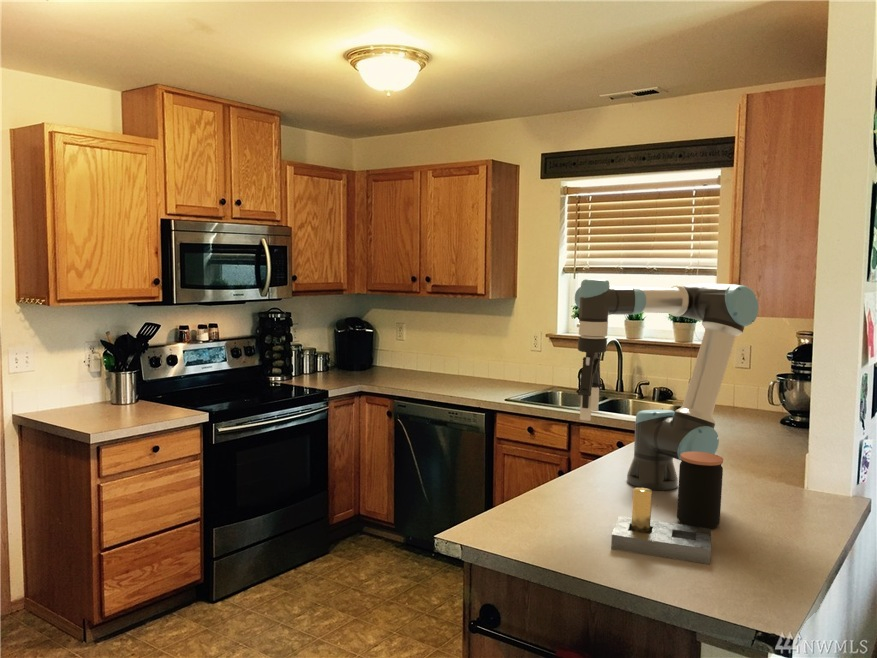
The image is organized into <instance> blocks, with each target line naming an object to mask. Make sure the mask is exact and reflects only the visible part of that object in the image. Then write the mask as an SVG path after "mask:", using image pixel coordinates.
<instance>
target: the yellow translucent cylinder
mask: <svg viewBox="0 0 877 658" xmlns="http://www.w3.org/2000/svg"><path fill="white" fill-rule="evenodd" d="M632 492H633V493H632V508H631V518H632V524H631V531H634V532H641V533H648V534H650V521H651V519H652V517H651V516H652V499H653V490H650V489H647V488H639V487H635V488H633V489H632Z"/></svg>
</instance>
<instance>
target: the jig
mask: <svg viewBox="0 0 877 658" xmlns="http://www.w3.org/2000/svg"><path fill="white" fill-rule="evenodd" d="M631 524H632V516H631V517H629V516H623V515H618V518H617V520H616V521H615V525H614V528H613V530H612V532H611V542H610V544H611V545H610V549H611V550H614V551H615V550H617V551H623V552H628V553H633V554H634V553H636V554H641V555H642V554H643V555H649V556H655V557H661V558H665V559H666V558H667V559H674V560H679V561H687V562H693V563H700V564H705V565H711V556H712V555H711V554H712V553H711V552H712V529H709V528H702V527H695V526H688V525H682V524H681V523H674V522H673V523H672V522H666V521H658V520H651V521H650V534H648V533H641V532H634V531H631Z"/></svg>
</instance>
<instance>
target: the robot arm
mask: <svg viewBox="0 0 877 658" xmlns="http://www.w3.org/2000/svg"><path fill="white" fill-rule="evenodd" d="M574 304H575V305H576V307H577V308H578V309H579V313H578V315H579V316H578V319H579V321H578V323H577V324H576V327H577V328H578V335H579V336H580V337H578V339H577V340H578V341H577V351H579V352H582V353H585V356H584V357H582V369H581V370H582V371H581V379H580V386H579V391H578V392H577V395H578V396H580V405H579V407H580V408H579V410H580V411H579V420H580V421H588V422H590V421H591V419H592V412H599V402H600V401H599V400H600V388H603V383H602V381H601V354H602V353H606V352H607V350H608V349H607V344H608V339H607V336H608V331H609V330H608V328H609V319H608V318H609V315H617V316H618V315H622V316H623V315H624V316H625V315H629V316H633V315H639V314H641V313H645V314H646V313H649V314H650V313H652V314H653V313H654V314H670V315H671V316H672V317H683V318H689V319H693V320H698V321H701V326H702V327H703V329H704V332H703V336H702V339H701V343H700V345H699V350H698V353H697V357H696V359H695V363H694V366H693V369H692V373H691V377H690V380H689V382H688V386H687V388H686V393H685V396H684V398H683V399H684V400H683V402H682V406H681V407H679V408H678V409H676V410H675V411H674V410H671V409H644V410H643V409H642V410H640V411H638V412H637V413H636V414H635V421H634V444H633V445H634V447H633V450H634V452H633V459H632V461H631V464H630V465H629V468H628V470H627V475H626V482H627V483H628V484H629V485H631V486H633V487H635V488H647V489H650V490H652V491H669V490H674V489H677V488H678V486H679V477H678V474H677V470H676V467H675V465H674V459H675V460H678V461H680V462H681V461H682V460H681V458H680V455H681V453H684V452H693V451H694V452H706V453H711V454H715V455H716V453H717V451H718V449H719V448H718V447H719V446H720V439H719V438H718V437H719V435H718V432H717V430H715V426H716V421H715V420H714V418H713V413H714V410H715V406H716V404H717V400H718V396H719V392H720V390H721V386H722V383H723V380H724V376H725V373H726V370H727V367H728V363H729V360H730V357H731V353H732V350H733V347H734V344H735V340H736V338H738V337H739V336H741V335H743V333H744V330H745V327H747V326H750V325H752V324H753V323H754V322H755V321H756V320H757V318H758V314H759V308H760V307H759V301H758V298H757V295H756V294H755V292H754V290H752V289H751V288H750V287H749V286H747V285H742V284H741V285H740V284H736V283H731V284H728V283H697V284H689V285H683V284H682V285H673V286H671V287H667V288H665V287H645V286H643V287H642V286H641V287H640V286H621V285H620V286H619V285H618V286H616V285H610V281H609V280H608V279H597V278H595V279H591V278H590V279H589V278H588V279H586V278H585V279H583V280H582V281H581V282H580V286H579V287H578V288H577V290H576V292H575V294H574Z"/></svg>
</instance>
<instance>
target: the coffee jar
mask: <svg viewBox="0 0 877 658" xmlns="http://www.w3.org/2000/svg"><path fill="white" fill-rule="evenodd" d="M680 458H681V460H682V461H681V460H680V463H679V471H678V472H679V473H678V485H677V490H678V492H677V506H676V507H677V508H676V518H677V520H678V522H679V524H680V525H688V526H695V527H702V528H709V529H711V530H715V529H716V528H717V527H718V526H719V525H720V524H721V512H722V511H721V509H722V508H721V507H722V493H723V492H722V489H723V488H722V487H723V476H724V474H723V473H724V472H723V471H724V468H723V466H722V465H723V463H724V458H723V457H722V456H720V455H718V454H716V453H715V454H711V453H706V452H694V451H693V452H684V453H681V455H680Z"/></svg>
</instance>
